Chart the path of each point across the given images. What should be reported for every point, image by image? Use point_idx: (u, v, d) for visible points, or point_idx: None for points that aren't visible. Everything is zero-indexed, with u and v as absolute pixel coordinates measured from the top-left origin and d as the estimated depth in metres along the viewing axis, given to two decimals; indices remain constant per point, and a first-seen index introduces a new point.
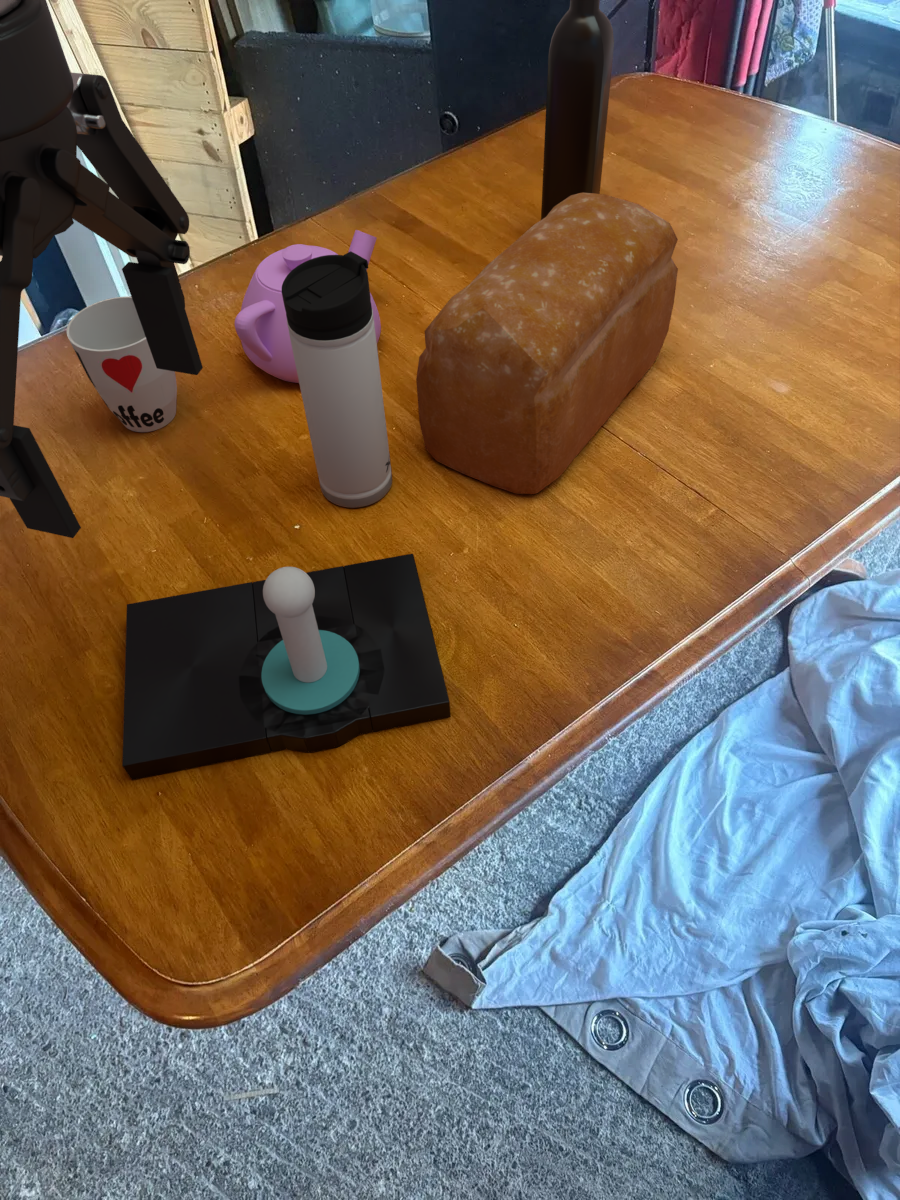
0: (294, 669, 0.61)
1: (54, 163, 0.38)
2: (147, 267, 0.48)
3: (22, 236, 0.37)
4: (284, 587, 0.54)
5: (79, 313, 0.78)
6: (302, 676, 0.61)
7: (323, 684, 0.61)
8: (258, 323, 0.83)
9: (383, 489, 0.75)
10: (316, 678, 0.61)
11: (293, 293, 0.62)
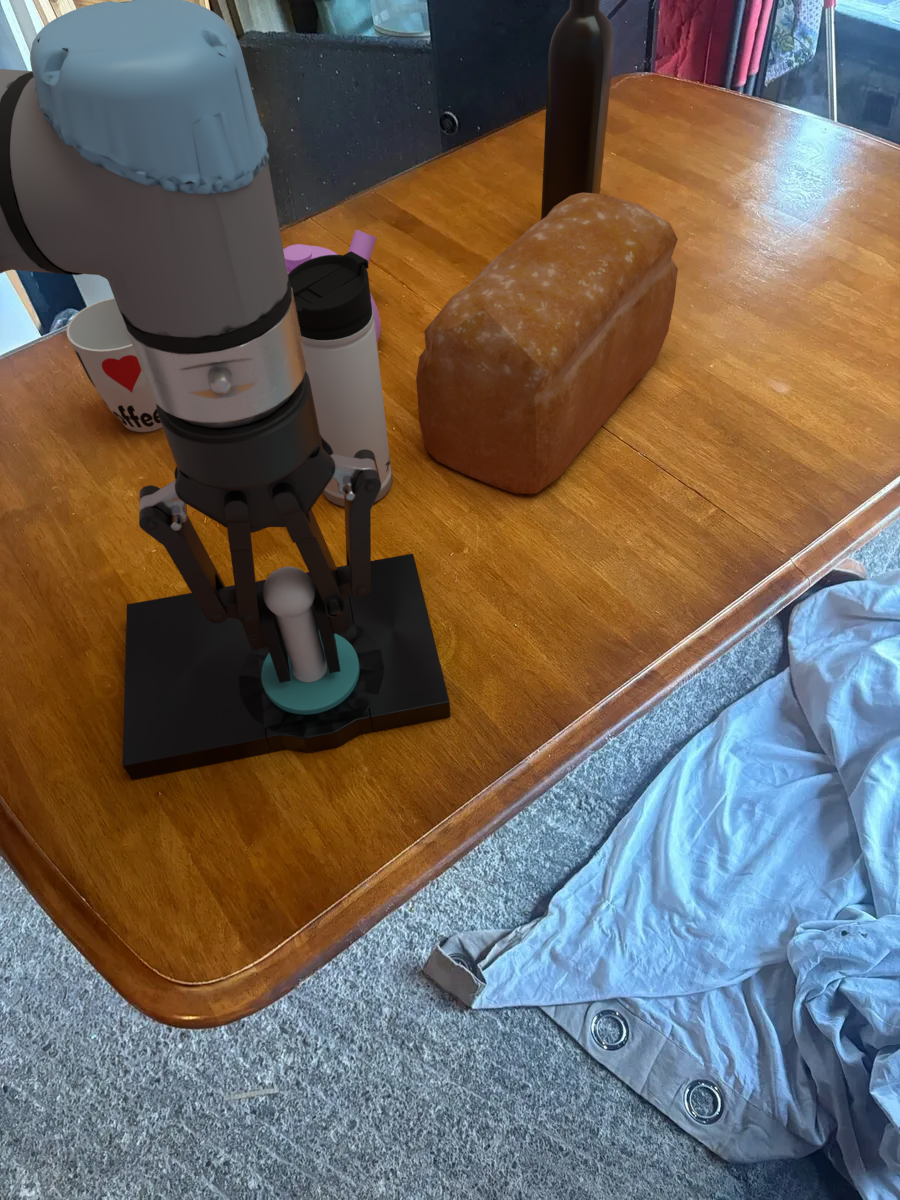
0: (294, 669, 0.61)
1: (276, 493, 0.47)
2: (320, 596, 0.57)
3: (236, 529, 0.48)
4: (284, 587, 0.54)
5: (79, 313, 0.78)
6: (302, 676, 0.61)
7: (323, 684, 0.61)
8: None
9: (383, 489, 0.75)
10: (316, 678, 0.61)
11: (293, 292, 0.62)
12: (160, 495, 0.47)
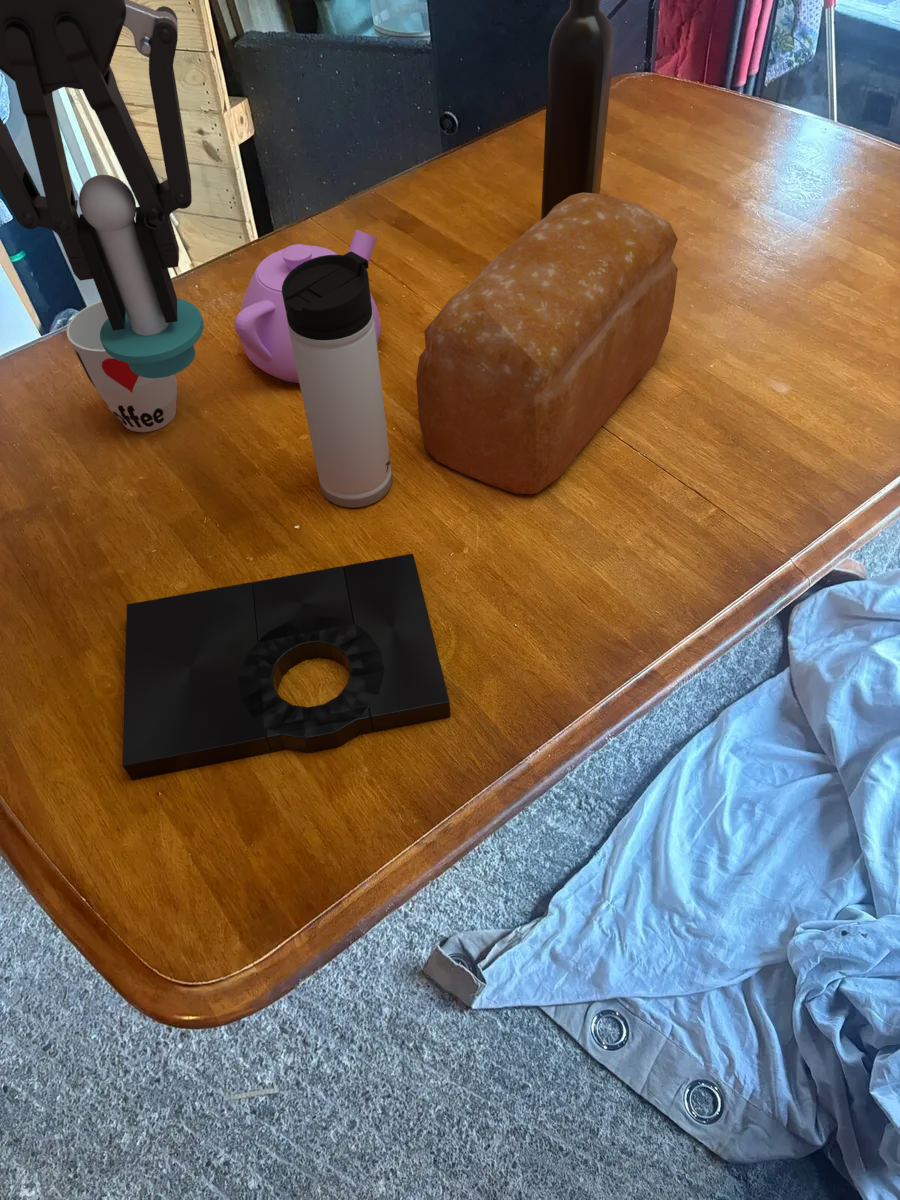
0: (130, 317, 0.58)
1: (58, 23, 0.44)
2: (143, 216, 0.54)
3: (23, 76, 0.46)
4: (97, 188, 0.52)
5: (79, 313, 0.78)
6: (139, 326, 0.59)
7: (162, 337, 0.59)
8: (258, 323, 0.83)
9: (383, 489, 0.75)
10: (154, 330, 0.59)
11: (293, 292, 0.62)
12: None
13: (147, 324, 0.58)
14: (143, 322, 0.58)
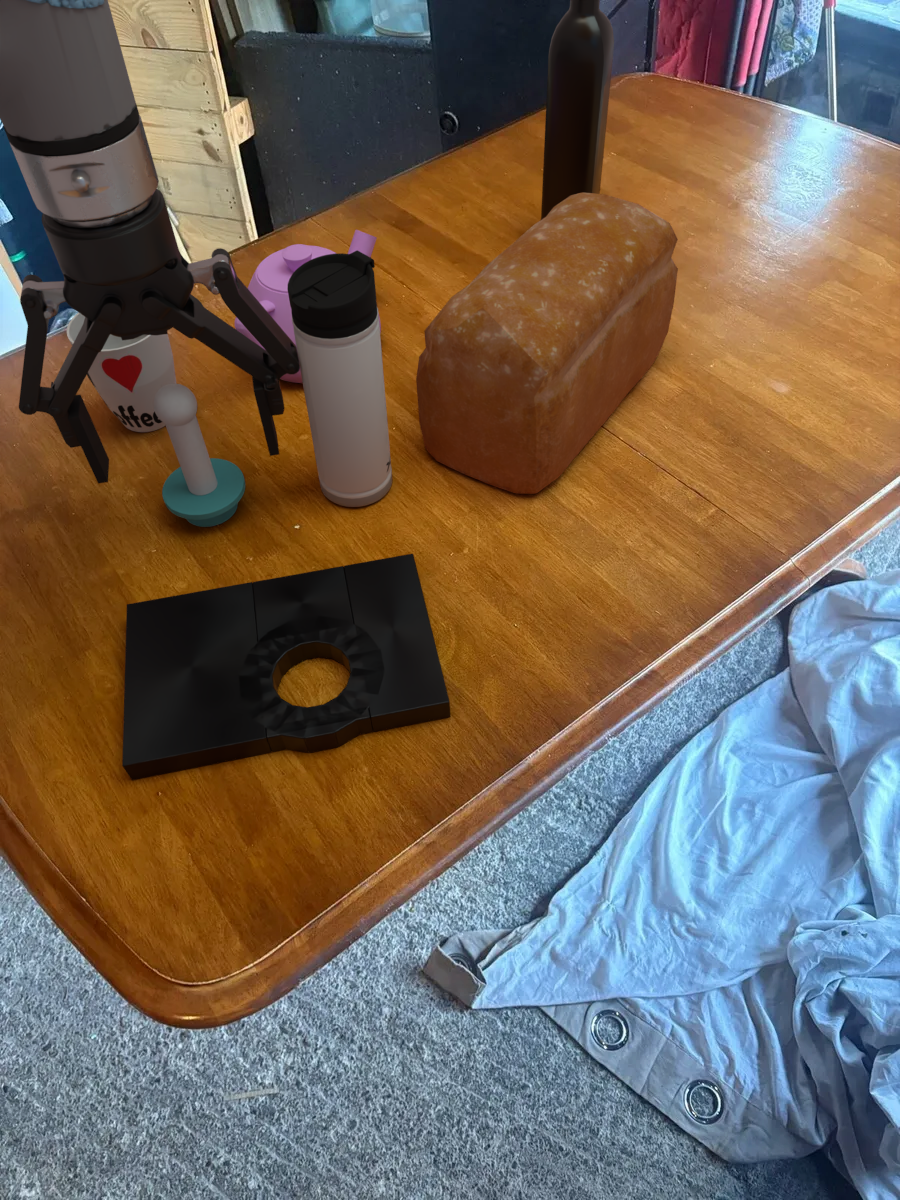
0: (187, 482, 0.73)
1: (141, 302, 0.59)
2: None
3: (100, 328, 0.60)
4: (169, 396, 0.66)
5: (79, 313, 0.78)
6: (194, 489, 0.73)
7: (213, 496, 0.73)
8: None
9: (383, 489, 0.75)
10: (207, 491, 0.73)
11: (299, 290, 0.62)
12: (46, 286, 0.58)
13: (201, 487, 0.73)
14: (198, 486, 0.73)
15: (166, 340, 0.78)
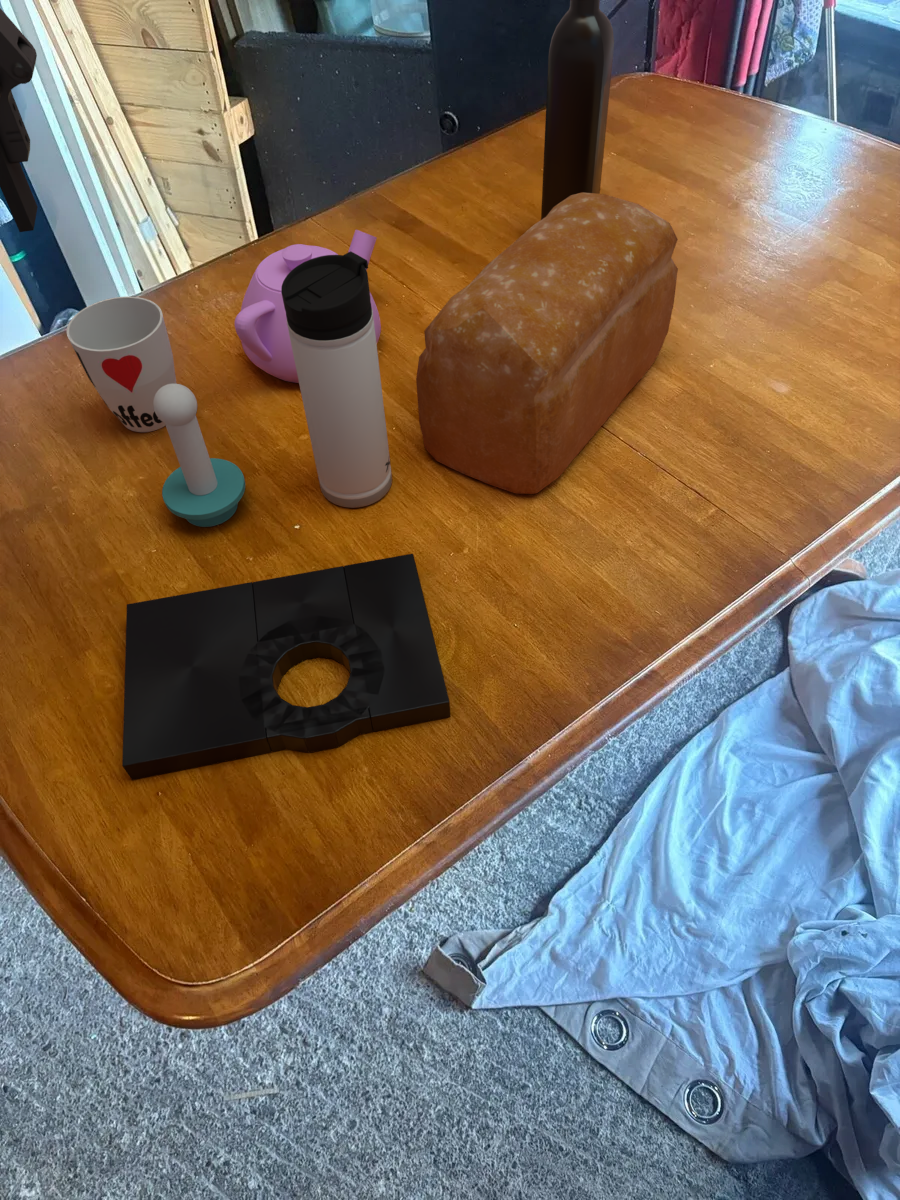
0: (187, 482, 0.73)
1: None
2: None
3: None
4: (169, 396, 0.66)
5: (79, 313, 0.78)
6: (194, 489, 0.73)
7: (213, 496, 0.73)
8: (258, 323, 0.83)
9: (383, 489, 0.75)
10: (207, 491, 0.73)
11: (293, 293, 0.62)
12: None
13: (201, 487, 0.73)
14: (198, 486, 0.73)
15: (166, 340, 0.78)
